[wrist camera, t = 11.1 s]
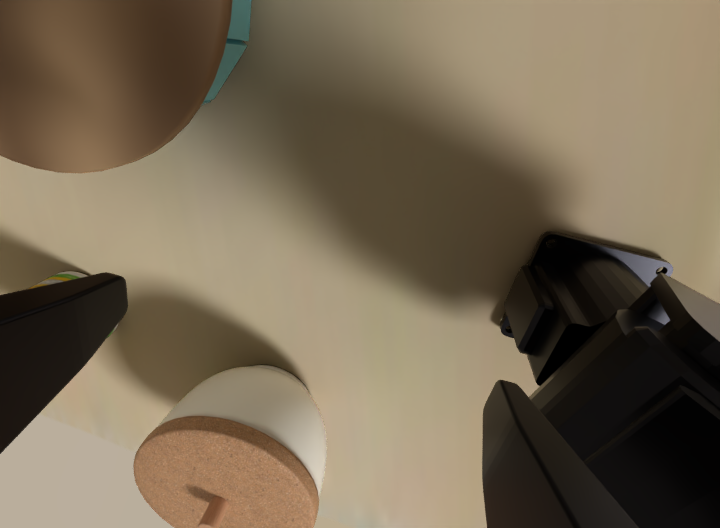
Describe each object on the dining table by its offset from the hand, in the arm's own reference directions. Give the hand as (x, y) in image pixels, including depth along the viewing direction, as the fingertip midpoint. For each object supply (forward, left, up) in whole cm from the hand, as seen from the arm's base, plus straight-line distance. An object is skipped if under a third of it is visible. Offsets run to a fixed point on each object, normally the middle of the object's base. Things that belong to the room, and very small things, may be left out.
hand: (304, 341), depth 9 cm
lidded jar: (+4, +17, -13) cm, 22 cm away
